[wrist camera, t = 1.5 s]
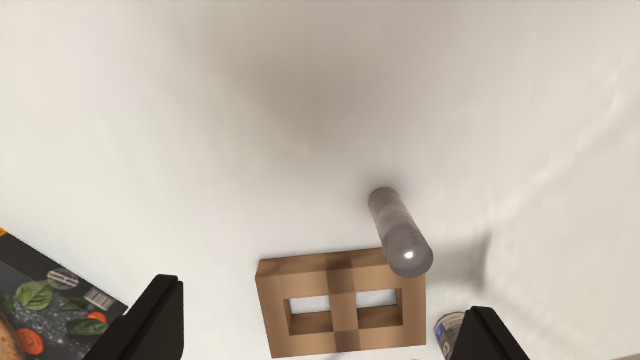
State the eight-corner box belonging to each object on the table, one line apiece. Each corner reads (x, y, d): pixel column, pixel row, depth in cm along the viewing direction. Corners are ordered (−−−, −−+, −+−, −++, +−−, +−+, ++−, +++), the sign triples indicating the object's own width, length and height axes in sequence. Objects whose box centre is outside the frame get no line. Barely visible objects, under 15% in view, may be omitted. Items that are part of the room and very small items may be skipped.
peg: (399, 185, 31) (433, 237, 22) (400, 214, 32) (433, 275, 23) (367, 189, 31) (388, 242, 22) (369, 217, 32) (389, 280, 23)
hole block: (416, 244, 33) (425, 260, 31) (417, 323, 37) (426, 344, 34) (260, 259, 34) (254, 277, 31) (275, 336, 37) (271, 358, 34)
